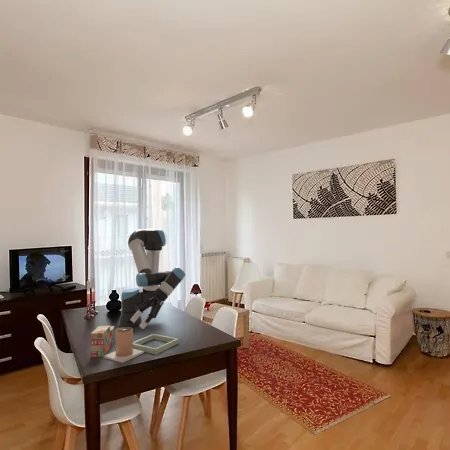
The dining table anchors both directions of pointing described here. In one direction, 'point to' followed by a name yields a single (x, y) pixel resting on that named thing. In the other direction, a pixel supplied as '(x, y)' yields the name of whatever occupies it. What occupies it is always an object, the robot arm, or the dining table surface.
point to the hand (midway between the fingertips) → (136, 324)
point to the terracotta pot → (124, 341)
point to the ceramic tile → (123, 359)
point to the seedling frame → (157, 350)
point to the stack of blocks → (102, 340)
